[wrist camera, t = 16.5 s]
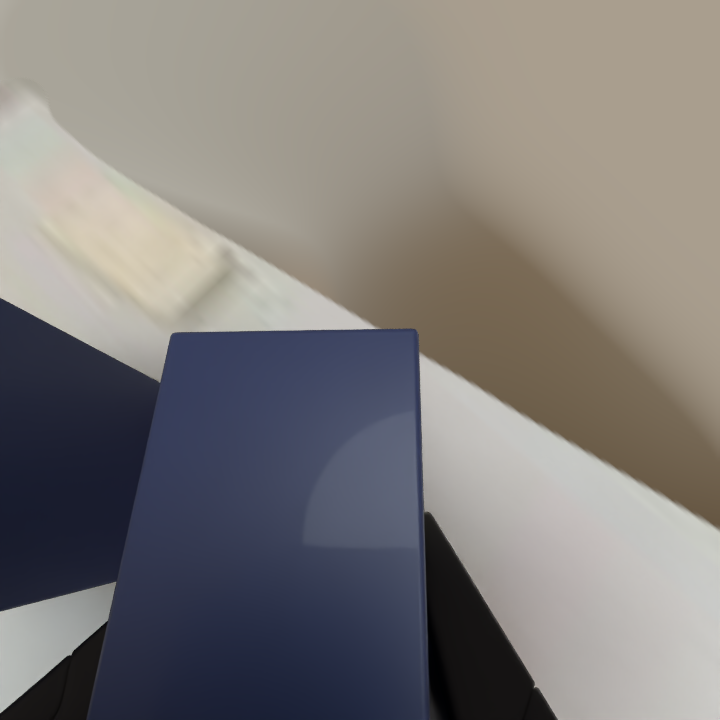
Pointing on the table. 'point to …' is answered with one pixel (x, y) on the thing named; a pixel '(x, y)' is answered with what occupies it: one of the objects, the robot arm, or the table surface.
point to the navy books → (65, 459)
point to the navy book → (275, 536)
